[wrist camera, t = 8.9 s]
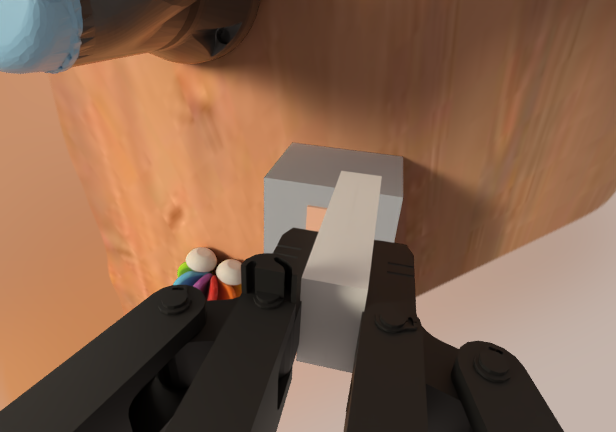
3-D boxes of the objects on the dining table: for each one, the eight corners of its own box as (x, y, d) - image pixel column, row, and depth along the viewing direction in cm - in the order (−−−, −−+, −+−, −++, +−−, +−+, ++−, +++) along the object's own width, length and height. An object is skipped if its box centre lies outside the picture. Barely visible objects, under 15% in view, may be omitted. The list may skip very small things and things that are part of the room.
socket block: (287, 260, 50) (263, 315, 41) (292, 142, 42) (263, 178, 33) (380, 277, 48) (375, 338, 39) (403, 156, 40) (403, 199, 31)
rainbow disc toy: (243, 306, 56) (223, 343, 50) (182, 280, 56) (154, 314, 50) (258, 263, 51) (238, 299, 45) (191, 235, 52) (162, 267, 45)
